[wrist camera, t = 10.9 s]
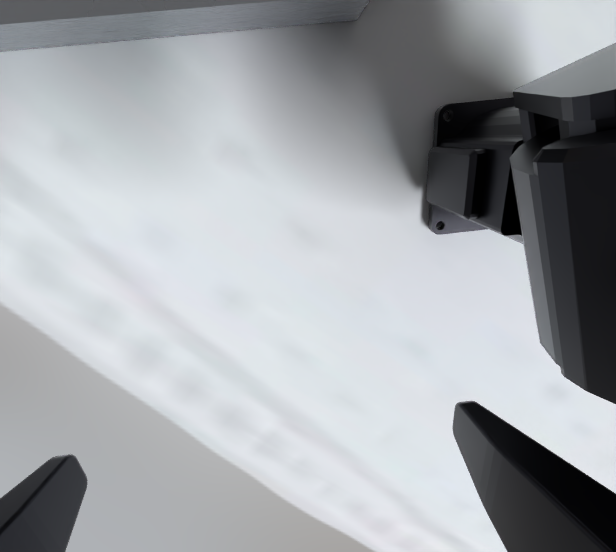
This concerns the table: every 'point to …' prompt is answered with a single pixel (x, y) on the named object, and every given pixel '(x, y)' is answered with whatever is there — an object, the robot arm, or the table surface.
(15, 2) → the plate
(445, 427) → the table surface
